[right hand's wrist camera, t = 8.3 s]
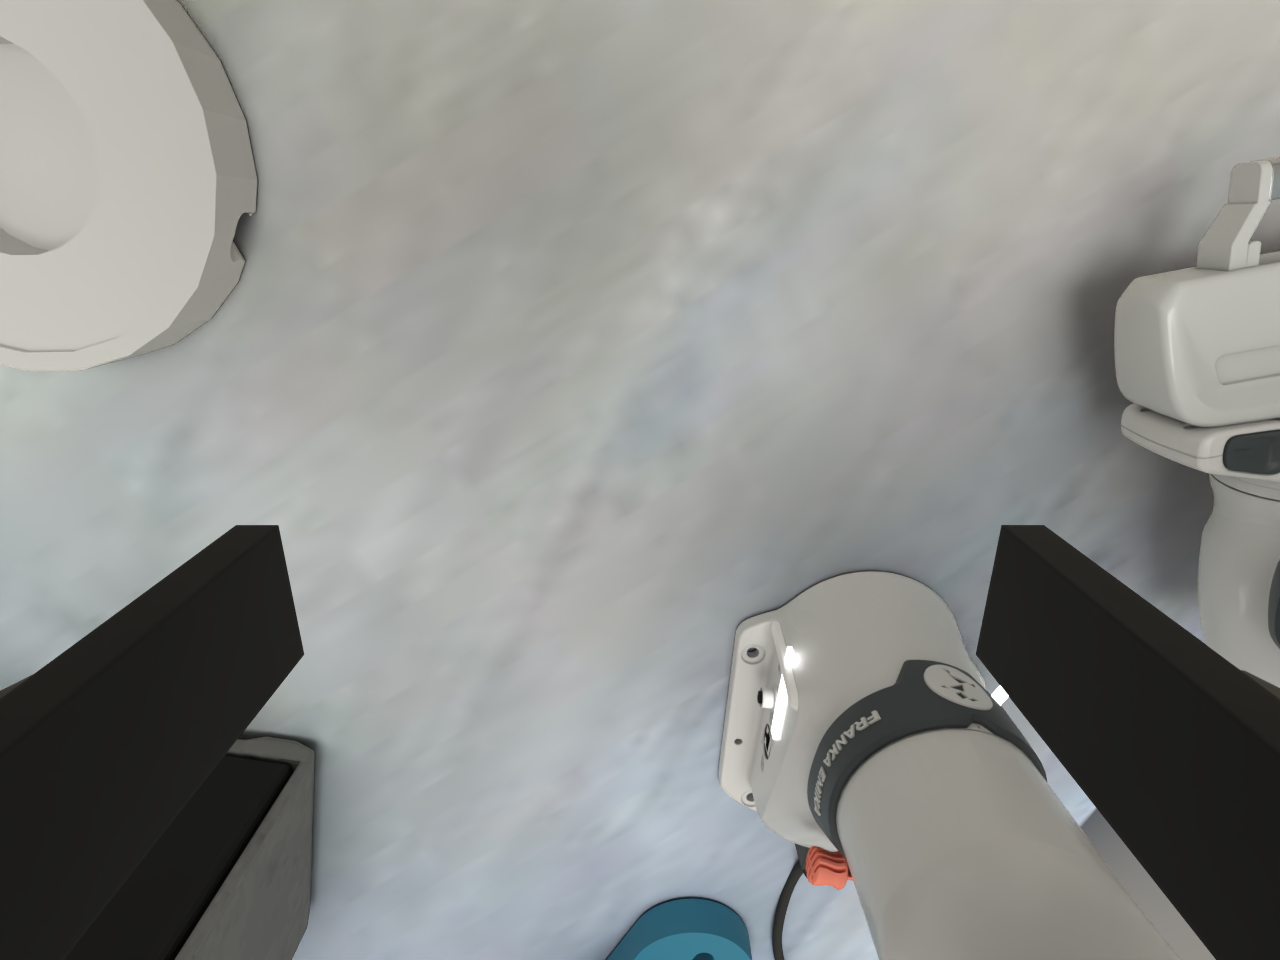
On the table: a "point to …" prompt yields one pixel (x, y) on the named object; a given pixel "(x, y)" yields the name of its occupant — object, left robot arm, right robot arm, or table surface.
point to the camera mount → (686, 933)
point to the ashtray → (114, 181)
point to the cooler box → (222, 868)
